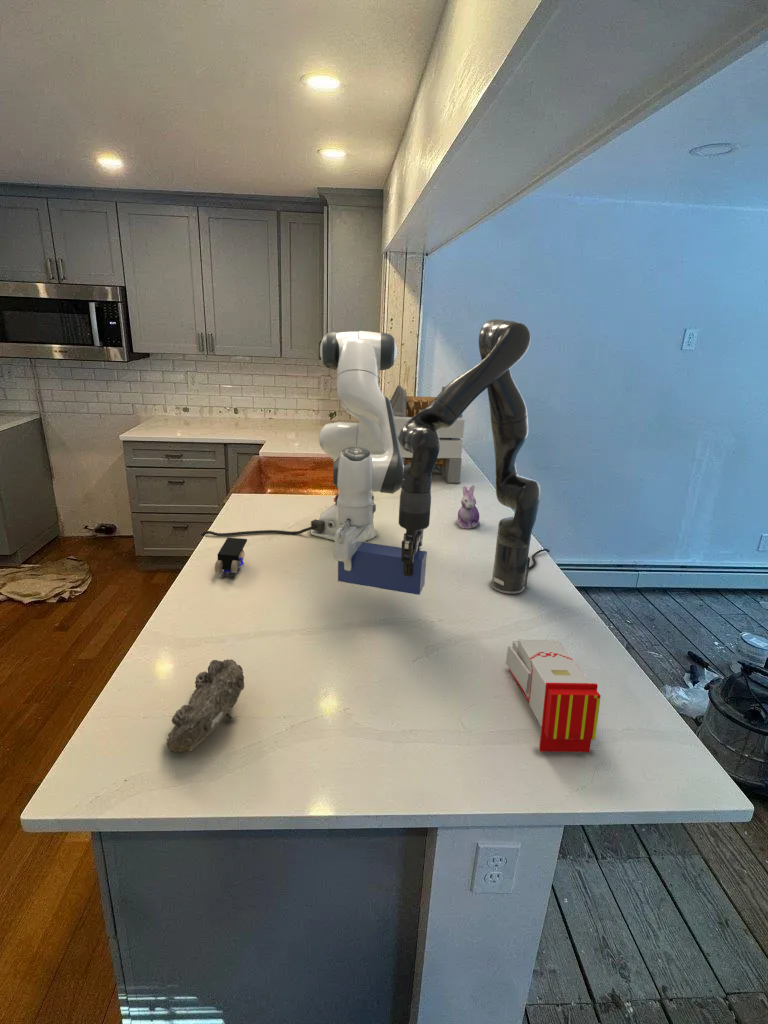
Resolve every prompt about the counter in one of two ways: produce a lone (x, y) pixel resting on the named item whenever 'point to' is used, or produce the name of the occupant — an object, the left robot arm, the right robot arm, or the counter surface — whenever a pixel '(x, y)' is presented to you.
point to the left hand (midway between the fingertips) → (353, 563)
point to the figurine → (468, 510)
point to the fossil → (206, 705)
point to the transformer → (448, 437)
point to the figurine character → (230, 556)
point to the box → (384, 569)
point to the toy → (556, 694)
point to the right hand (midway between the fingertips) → (411, 569)
